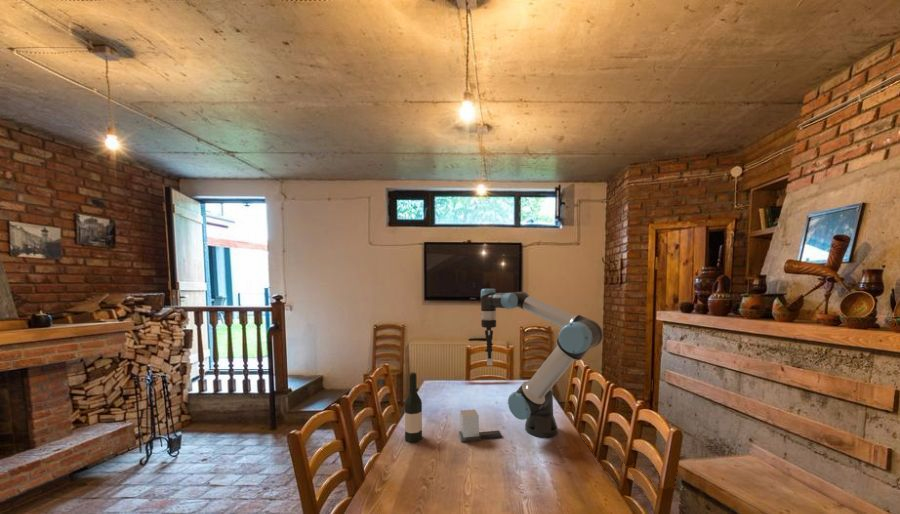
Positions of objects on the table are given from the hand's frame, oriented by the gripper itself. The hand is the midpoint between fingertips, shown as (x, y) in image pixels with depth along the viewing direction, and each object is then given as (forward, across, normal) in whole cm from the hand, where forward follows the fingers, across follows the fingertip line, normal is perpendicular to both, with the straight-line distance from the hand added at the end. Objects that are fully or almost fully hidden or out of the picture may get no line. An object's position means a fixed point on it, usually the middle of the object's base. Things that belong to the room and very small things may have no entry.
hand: (489, 361), depth 165 cm
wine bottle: (+32, +15, -36) cm, 50 cm away
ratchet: (+32, +12, -5) cm, 34 cm away
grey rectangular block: (+29, +13, -10) cm, 34 cm away
